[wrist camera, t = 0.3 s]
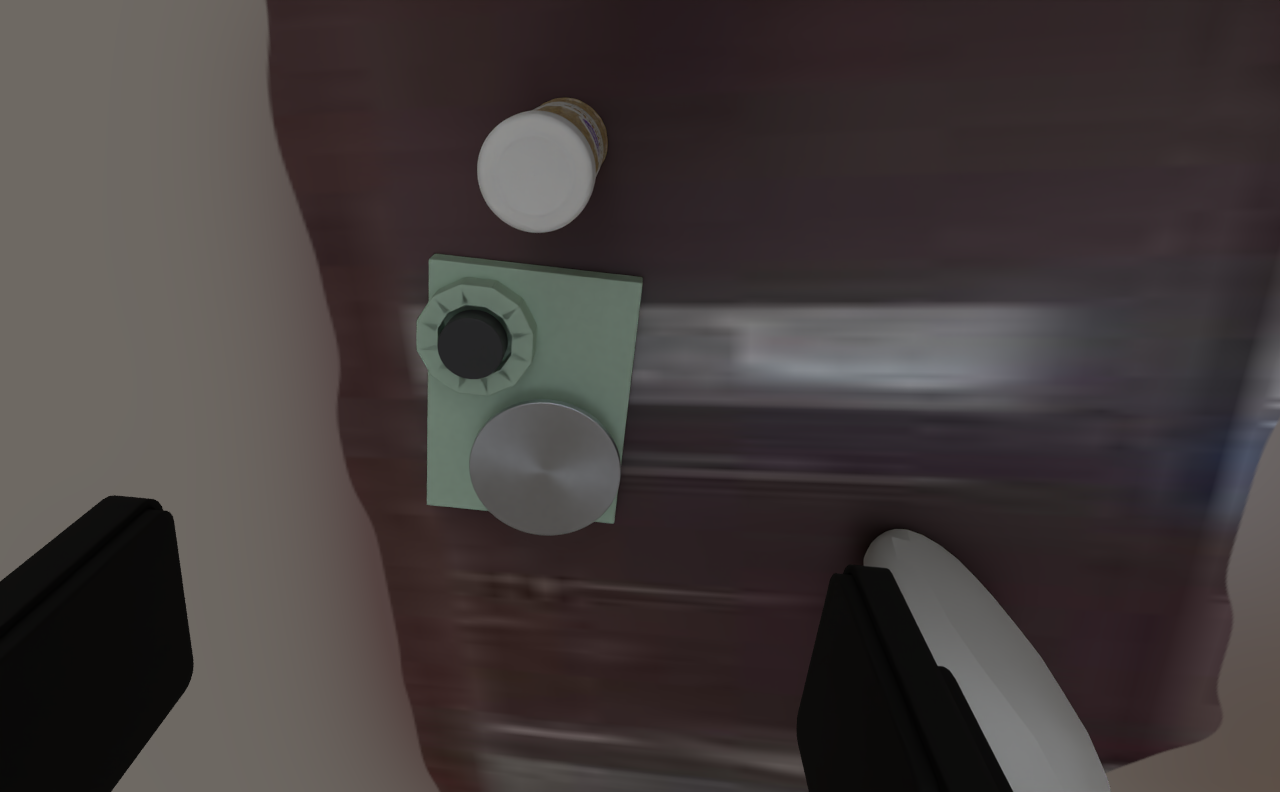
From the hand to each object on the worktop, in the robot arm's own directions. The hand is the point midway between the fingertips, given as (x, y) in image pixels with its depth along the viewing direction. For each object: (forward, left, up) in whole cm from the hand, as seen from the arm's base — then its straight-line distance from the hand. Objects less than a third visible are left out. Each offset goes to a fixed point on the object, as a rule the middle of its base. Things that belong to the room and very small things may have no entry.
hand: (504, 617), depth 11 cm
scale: (+12, -4, -36) cm, 38 cm away
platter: (+16, -2, -33) cm, 36 cm away
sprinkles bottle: (-3, -3, -36) cm, 36 cm away
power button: (+8, -7, -33) cm, 35 cm away
